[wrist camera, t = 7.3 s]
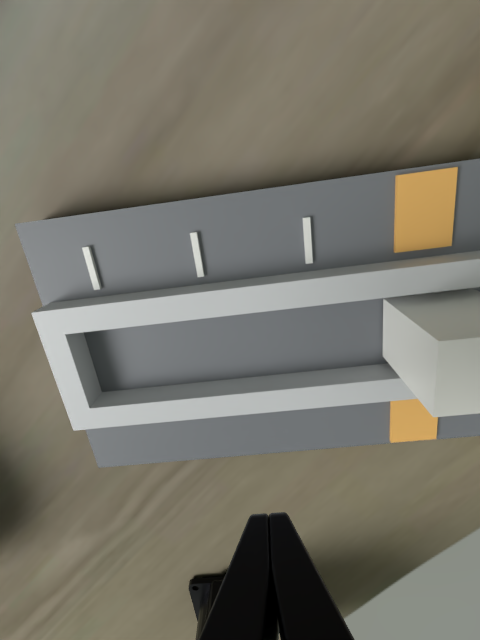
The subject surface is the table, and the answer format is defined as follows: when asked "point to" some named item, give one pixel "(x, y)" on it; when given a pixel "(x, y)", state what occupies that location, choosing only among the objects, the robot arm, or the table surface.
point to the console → (250, 314)
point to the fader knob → (436, 348)
